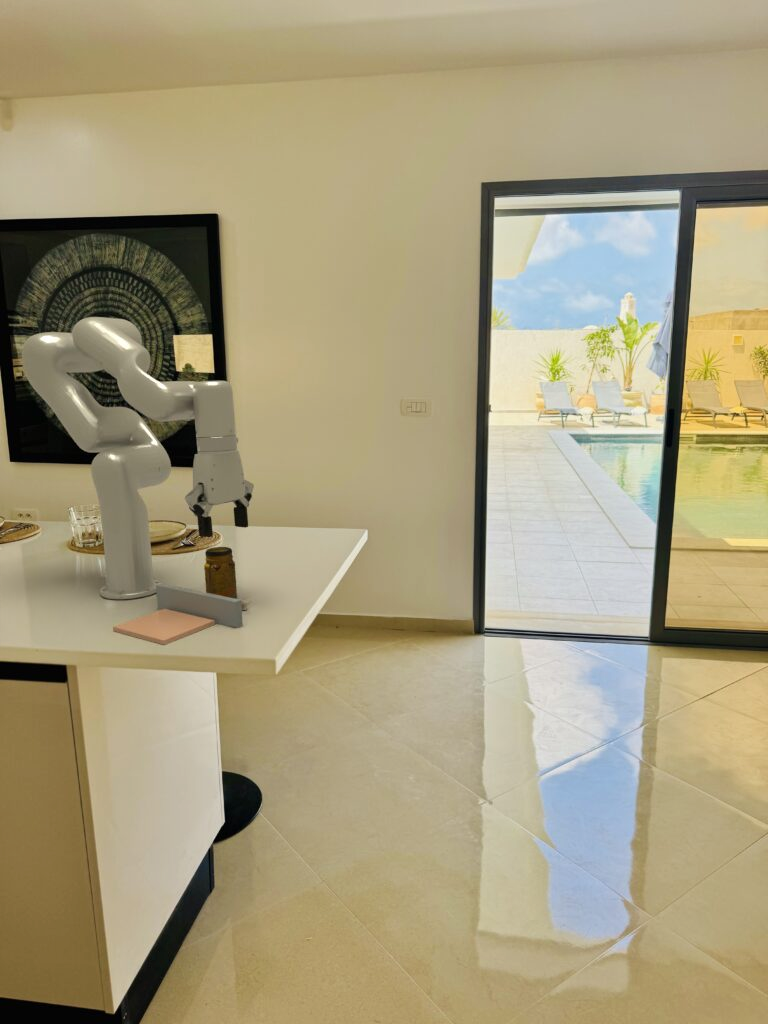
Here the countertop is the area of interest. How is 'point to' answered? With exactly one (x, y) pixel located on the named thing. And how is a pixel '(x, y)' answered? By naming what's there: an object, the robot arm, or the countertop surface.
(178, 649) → the countertop surface
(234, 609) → the low wall
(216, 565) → the condiment
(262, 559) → the countertop surface
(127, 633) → the tile pad
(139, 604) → the countertop surface
